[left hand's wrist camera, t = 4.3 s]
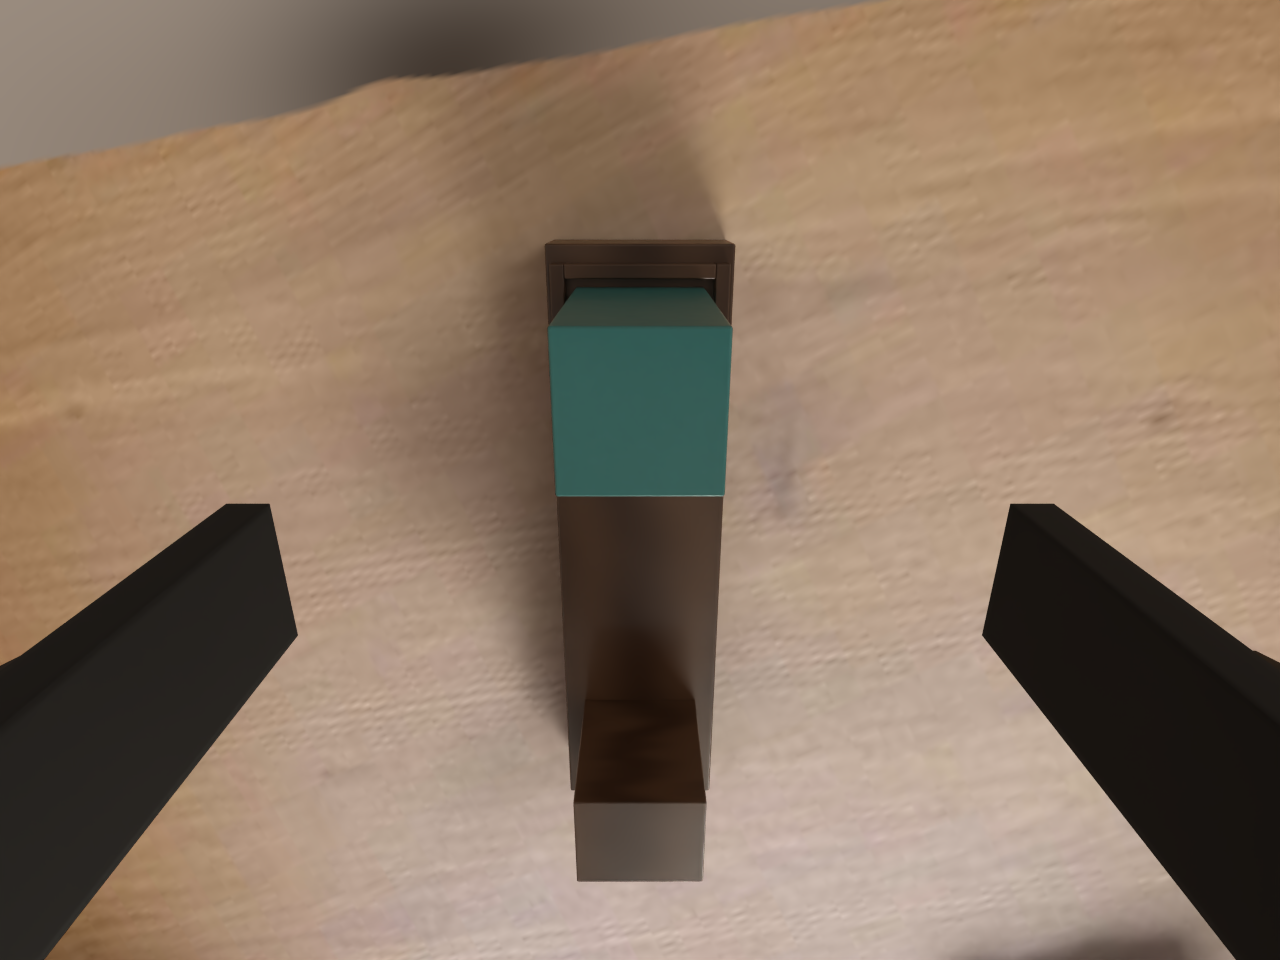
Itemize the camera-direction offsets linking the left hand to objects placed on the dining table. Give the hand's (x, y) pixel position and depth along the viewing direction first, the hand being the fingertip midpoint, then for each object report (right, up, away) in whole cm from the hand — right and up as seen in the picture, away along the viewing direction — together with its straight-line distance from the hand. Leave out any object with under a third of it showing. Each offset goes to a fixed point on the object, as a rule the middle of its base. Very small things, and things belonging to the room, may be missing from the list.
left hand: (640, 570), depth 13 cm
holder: (0, -1, +25) cm, 25 cm away
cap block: (0, +7, +18) cm, 20 cm away
